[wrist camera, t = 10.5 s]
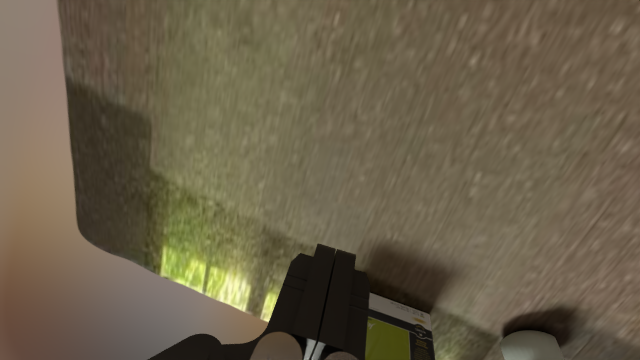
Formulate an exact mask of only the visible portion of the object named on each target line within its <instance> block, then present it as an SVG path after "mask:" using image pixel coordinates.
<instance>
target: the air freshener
mask: <svg viewBox="0 0 640 360" xmlns="http://www.w3.org/2000/svg"><path fill="white" fill-rule="evenodd" d="M500 346H501V350H502V353H503V356H504V358H505V360H565V359H564V357H563V355H562V352H561V350H560V348H559V345H558V343H557V341H556V339H555V337H554V336H552V335H550V334H547V333H544V332H540V331H534V330H524V331H518V332H514V333H512V334H509V335H508V336H506V337H505V338H504V339H503V340H502V341H501V342H500Z"/></svg>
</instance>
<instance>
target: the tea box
mask: <svg viewBox="0 0 640 360" xmlns="http://www.w3.org/2000/svg"><path fill="white" fill-rule="evenodd" d="M365 360H435V353H434V345H433V335H432V328H431V320H430V315H429V314H427V313H425V312H422V311H419V310H416V309H414V308H411V307H408V306H405V305H403V304H400V303H397V302H394V301H392V300H389V299H386V298H383V297H381V296H378V295H375V294H373V293H370V298H369V311H368V324H367V338H366V351H365Z"/></svg>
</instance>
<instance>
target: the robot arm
mask: <svg viewBox="0 0 640 360" xmlns="http://www.w3.org/2000/svg"><path fill="white" fill-rule="evenodd" d="M335 251H336V249H335V248H332V247H328V246H325V245H322V244H317V248H316V251H315V254H314V257H312V256H309V255H305V254H302V253H300V254H299V255H298V256H297V257H296V258H295V259H294V260H293V261H292V262H291V264H290V266H289V269H288V272H287V275H286V277H285V280H284V283H283V286H282V288H281V291H280V294H279V296H278V299H277V302H276V305H275V307H274V310H273V313H272V315H271V318H270V321H269V324H268V326H267V328H266V329H265V331H264V332H263V333H262V334H261V335H260V336H259V337H258V338H256V339H255V340H253V341H250V342H248V343H243V344H224V345H222V344H221V343H220V341H219V340H218V339H217V338H215V337H213V336H211V335H208V334H196V335H192V336H190V337H188V338H186V339H184V340H182V341H181V342H179V343H177V344H175V345H173V346H172V347H170V348H168V349H166V350H164V351H162V352H161V353H159V354H157V355H156V356H154V357H152V358H150V359H148V360H365V351H366V338H367V324H368V311H369V298H370V283H369V281H368V278H367V275H366V273H365V272H361V271H358V270H355V269H354V267H355V260H356V255H355V254H352V253H348V252H345V251H342V250H338V249H337V251H336V253H335Z"/></svg>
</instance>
